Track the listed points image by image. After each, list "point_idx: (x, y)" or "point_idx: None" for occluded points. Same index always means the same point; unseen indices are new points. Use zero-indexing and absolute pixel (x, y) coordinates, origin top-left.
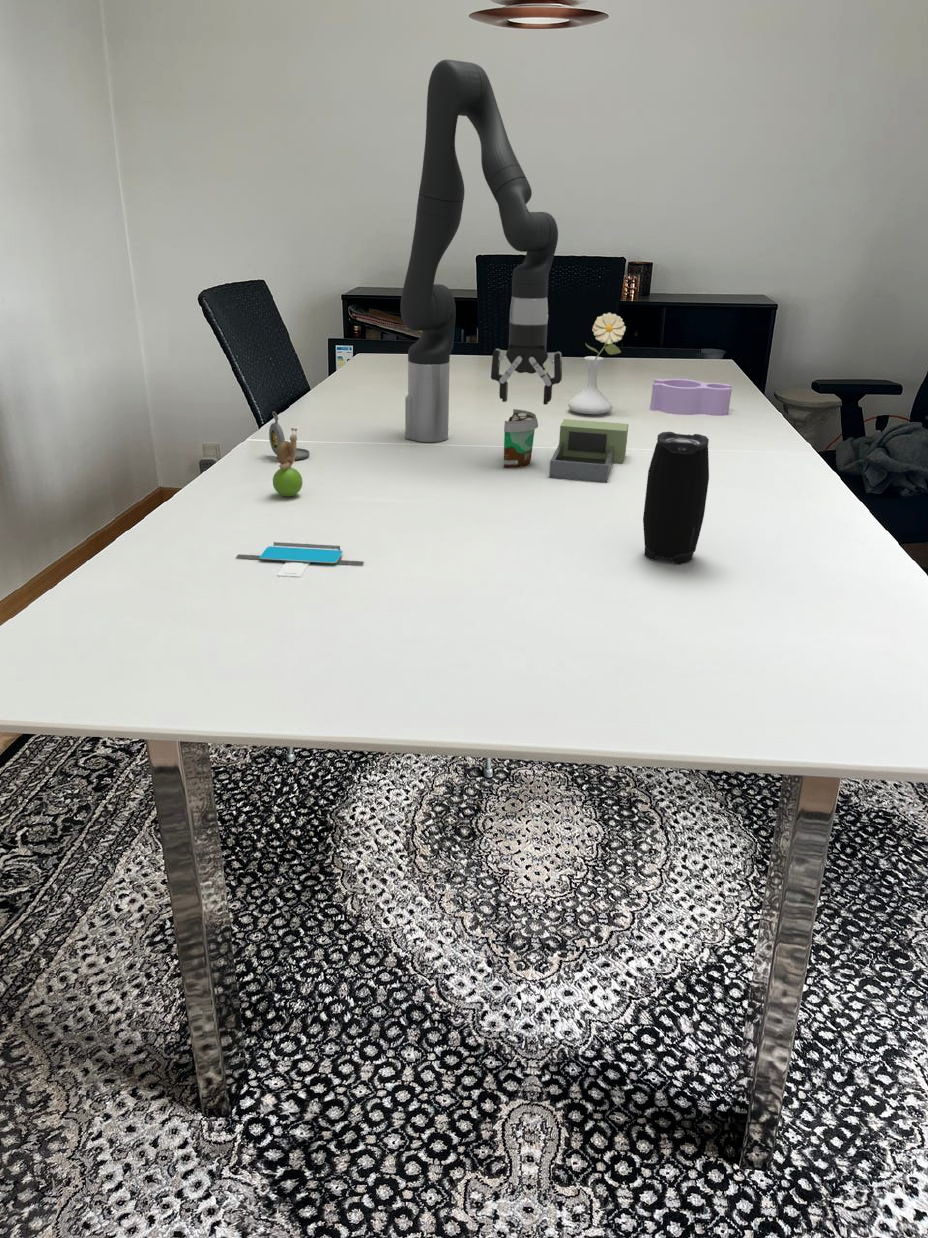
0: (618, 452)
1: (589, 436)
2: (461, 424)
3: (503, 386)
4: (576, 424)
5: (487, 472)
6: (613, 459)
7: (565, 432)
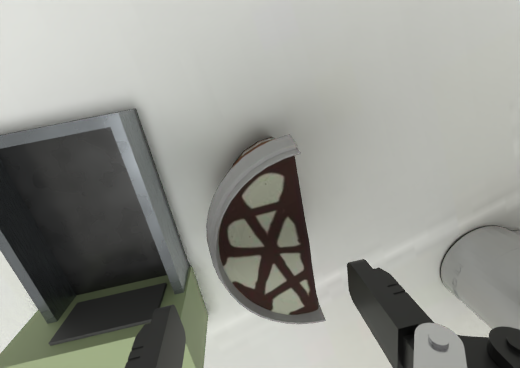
0: None
1: (101, 324)
2: None
3: (403, 311)
4: None
5: (293, 76)
6: None
7: None
